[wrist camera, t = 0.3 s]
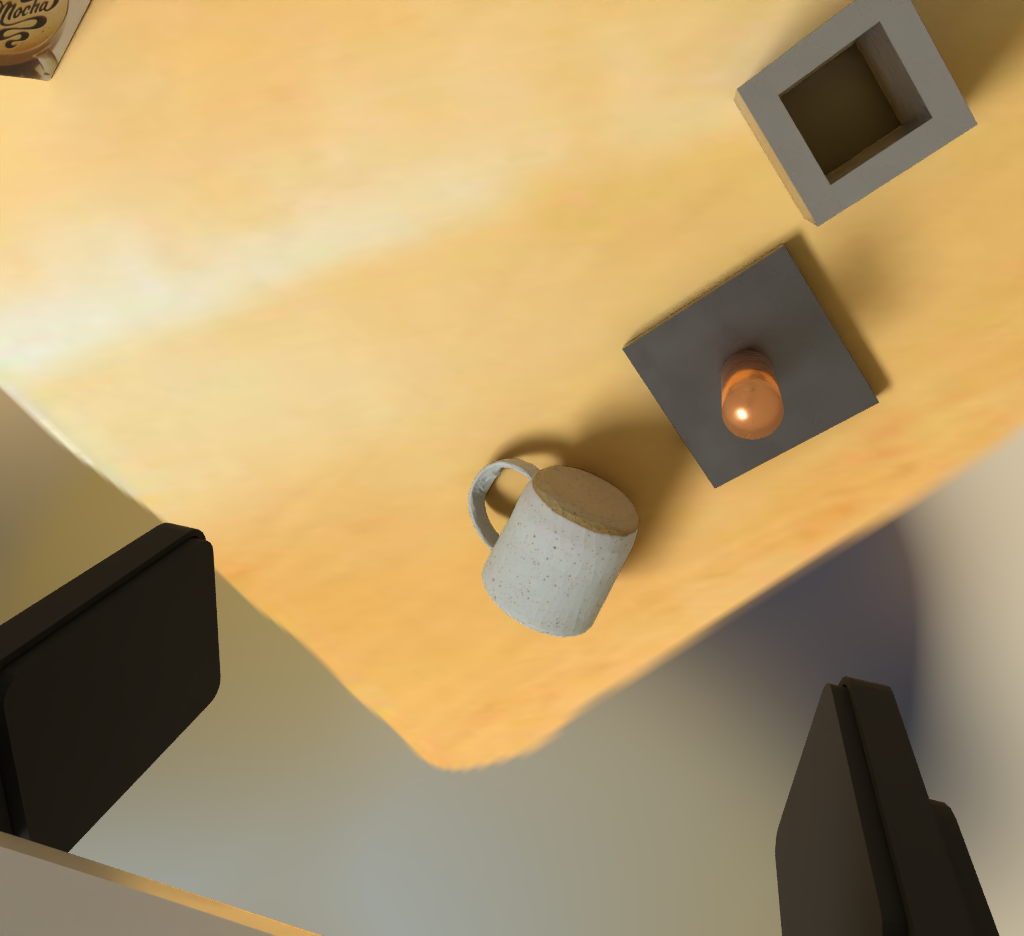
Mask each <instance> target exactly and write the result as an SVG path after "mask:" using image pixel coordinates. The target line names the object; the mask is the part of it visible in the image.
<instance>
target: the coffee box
mask: <svg viewBox="0 0 1024 936" xmlns="http://www.w3.org/2000/svg"><path fill="white" fill-rule="evenodd" d="M90 1H91V0H0V75H3V76H12V77H20V78H31V79H38V80H44V81H49V80H50V78H51V77H52V75H53V73H54V71H55V69H56V67H57V65H58V63H59V61H60V59H61V57H62V56H63V54H64V52H65V50H66V48H67V46H68V44H69V42H70V40H71V38H72V36H73V34H74V32H75V30H76V28H77V26H78V24H79V22H80V21H81V19H82V17H83V15H84V13H85V11H86V9H87V7H88V5H89V3H90Z"/></svg>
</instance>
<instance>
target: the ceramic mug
mask: <svg viewBox="0 0 1024 936" xmlns="http://www.w3.org/2000/svg"><path fill="white" fill-rule="evenodd" d="M503 467H504V468H512V469H514V470H516V471H518V472H520V473H522V474H523V475H524V476H526V477H528V478H529V480H530V482H529V483H528V484H527V486H526V487H525V489H524V491H523V492H522V494H521V496H520V498H519V500H518V502H517V504H516V506H515V508H514V510H513V512H512V515H511V517H510V519H509V520H508V522H507V524H506V526H505V527H504V529H503V531H502V533H501V535H500V536H499V534H498V533H497V532H496V531H495V529H494V528H493V526H492V525H491V523H490V521H489V519H488V516H487V513H486V508H485V495H486V493H487V491H488V490H489V488H490V486H491V485H492V483H493V481H494V480H495V478H496V477H498V476H500V473H501V470H502V468H503ZM468 508H469V513H470V517H471V520H472V522H473V525H474V527H475V529H476V531H477V533H478V534H479V536H480V537H481V539H482V540H483V541H484V543H485V544H486V545H487V546H488V547H489V548H490V549H491V550H492V552H491V553H490V555H489V557H488V559H487V561H486V563H485V565H484V568H483V572H482V579H483V583H484V587H485V589H486V591H487V593H488V594H489V596H490V597H491V598H492V600H493V601H494V602H495V603H496V604H497V605H498V606H499V607H500V608H501V609H502V610H503V611H504V612H505V613H506V614H507V615H509V616H510V617H512V618H513V619H515V620H516V621H517V622H519V623H521V624H523V625H524V626H527V627H528V628H530V629H533V630H536V631H538V632H541V633H544V634H548V635H552V636H557V637H572V636H577V635H580V634H583V633H585V632H586V631H587V630H588V629H589V628H590V627H591V626H592V625H593V623H594V621H595V619H596V617H597V615H598V613H599V611H600V609H601V607H602V605H603V603H604V602H605V600H606V598H607V596H608V594H609V592H610V590H611V588H612V586H613V584H614V582H615V580H616V578H617V576H618V574H619V572H620V570H621V568H622V566H623V564H624V562H625V561H626V559H627V557H628V555H629V553H630V551H631V549H632V547H633V544H634V541H635V538H636V535H637V532H638V528H639V517H638V513H637V511H636V509H635V507H634V505H633V504H632V502H631V501H630V500H629V499H628V498H627V497H626V496H625V495H624V493H622V492H621V491H620V490H619V489H617V488H616V487H615V486H613V485H611V484H610V483H608V482H606V481H605V480H603V479H601V478H599V477H597V476H595V475H593V474H591V473H588V472H585V471H583V470H580V469H577V468H572V467H567V466H553V467H548V468H545V469H542V470H539V469H538V468H537V467H536V466H534V465H533V464H531V463H528V462H525V461H523V460H520V459H503V460H499V461H495V462H492V463H490V464H489V465H487V466H485V467H484V468H483V469H482V470H481V471H480V472H479V473H478V474H477V476H476V478H475V479H474V481H473V483H472V486H471V488H470V491H469V496H468Z"/></svg>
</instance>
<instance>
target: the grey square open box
mask: <svg viewBox="0 0 1024 936" xmlns="http://www.w3.org/2000/svg"><path fill="white" fill-rule="evenodd" d="M854 43H856V45H857V47H858V48H859V50H860V52H861V54H862V56H863V57H864V59H865V61H866V63H867V65H868V66H869V68H870V70H871V72H872V73H873V75H874V77H875V79H876V81H877V82H878V84H879V86H880V88H881V90H882V91H883V93H884V95H885V97H886V99H887V100H888V102H889V104H890V106H891V108H892V109H893V111H894V113H895V115H896V117H897V118H898V120H899V122H900V124H901V125H900V126H899V127H897V128H896V129H894V130H893V131H891V132H890V133H888V134H887V135H885V136H884V137H882V138H881V139H879V140H878V141H876V142H875V143H873V144H872V145H870V146H869V147H867V148H866V149H864V150H863V151H861V152H860V153H858V154H857V155H855V156H854V157H852V158H851V159H849V160H848V161H846V162H845V163H843V164H842V165H840V166H839V167H837V168H836V169H834V170H833V171H831V172H830V173H828V174H827V175H824V173H823V172H822V170H821V168H820V166H819V165H818V163H817V161H816V160H815V158H814V156H813V154H812V153H811V151H810V149H809V148H808V146H807V144H806V142H805V141H804V139H803V137H802V136H801V134H800V132H799V130H798V129H797V127H796V125H795V124H794V122H793V120H792V118H791V117H790V115H789V113H788V112H787V110H786V108H785V106H784V105H783V103H782V101H781V100H780V97H782V96H783V95H784V94H786V93H787V92H788V91H790V90H791V89H793V88H794V87H795V86H797V85H798V84H799V83H801V82H802V81H804V80H805V79H806V78H808V77H809V76H810V75H812V74H813V73H815V72H816V71H817V70H819V69H820V68H821V67H823V66H824V65H826V64H827V63H828V62H830V61H831V60H832V59H834V58H835V57H837V56H838V55H839V54H841V53H842V52H843V51H845V50H846V49H848V48H849V47H850V46H852V45H853V44H854ZM734 101H735V103H736V104H737V106H738V108H739V110H740V111H741V113H742V115H743V116H744V118H745V120H746V121H747V123H748V125H749V126H750V128H751V130H752V131H753V133H754V135H755V136H756V138H757V140H758V141H759V143H760V145H761V146H762V148H763V150H764V152H765V153H766V155H767V157H768V158H769V160H770V162H771V163H772V165H773V167H774V168H775V170H776V172H777V173H778V175H779V177H780V178H781V180H782V182H783V183H784V185H785V187H786V189H787V190H788V192H789V194H790V195H791V197H792V199H793V200H794V202H795V204H796V205H797V207H798V209H799V210H800V212H801V214H802V215H803V217H804V218H805V219H806V220H808V221H810V222H811V223H813V224H815V225H817V226H820V225H821V224H823V223H824V222H826V221H827V220H829V219H831V218H832V217H834V216H835V215H837V214H838V213H840V212H841V211H843V210H845V209H846V208H848V207H849V206H851V205H852V204H854V203H856V202H857V201H859V200H860V199H862V198H863V197H865V196H866V195H868V194H870V193H871V192H873V191H874V190H876V189H877V188H879V187H881V186H882V185H884V184H885V183H887V182H888V181H890V180H891V179H893V178H895V177H896V176H898V175H899V174H901V173H902V172H904V171H906V170H907V169H909V168H910V167H912V166H913V165H915V164H916V163H918V162H920V161H921V160H923V159H924V158H926V157H927V156H929V155H931V154H932V153H934V152H935V151H937V150H938V149H940V148H941V147H943V146H945V145H946V144H948V143H949V142H951V141H952V140H954V139H956V138H957V137H959V136H960V135H962V134H963V133H965V132H966V131H968V130H970V129H971V128H973V127H974V126H976V125H977V122H976V121H975V119H974V117H973V115H972V113H971V111H970V109H969V108H968V106H967V104H966V102H965V100H964V98H963V96H962V95H961V93H960V91H959V89H958V87H957V85H956V83H955V82H954V80H953V78H952V76H951V74H950V72H949V70H948V69H947V67H946V65H945V63H944V61H943V59H942V57H941V56H940V54H939V52H938V50H937V48H936V46H935V44H934V43H933V41H932V39H931V37H930V35H929V33H928V31H927V30H926V28H925V26H924V24H923V22H922V20H921V18H920V17H919V15H918V13H917V11H916V9H915V7H914V5H913V4H912V2H911V0H855V1H854V2H852V3H851V4H850V5H848V6H847V7H846V8H844V9H843V10H842V11H840V12H839V13H838V14H836V15H835V16H834V17H832V18H831V19H830V20H828V21H827V22H826V23H824V24H823V25H822V26H820V27H819V28H818V29H816V30H815V31H814V32H812V33H811V34H810V35H808V36H807V37H806V38H804V39H803V40H802V41H800V42H799V43H798V44H796V45H795V46H794V47H792V48H791V49H790V50H788V51H787V52H786V53H784V54H783V55H782V56H780V57H779V58H778V59H776V60H775V61H774V62H772V63H771V64H770V65H768V66H767V67H766V68H764V69H763V70H762V71H760V72H759V73H758V74H756V75H755V76H754V77H752V78H751V79H750V80H748V81H747V82H746V83H744V84H743V85H742V86H740V87H739V88H738V89H737V90H736V94H735V98H734Z"/></svg>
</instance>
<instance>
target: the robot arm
mask: <svg viewBox="0 0 1024 936" xmlns="http://www.w3.org/2000/svg"><path fill="white" fill-rule="evenodd" d="M216 609H217V608H216V591H215V573H214V555H213V547H212V545H211V543H210V542H208V541H206V538H205V536H204V534H203V532H201V531H200V530H198V529H194V528H189V527H185V526H180V525H176V524H172V523H163V524H160V525H158V526H156V527H155V528H153V529H152V530H150V531H149V532H147V533H145V534H144V535H143V536H141V537H139V538H138V539H136V540H134V541H133V542H131V543H130V544H128V545H126V546H125V547H123V548H122V549H120V550H119V551H117V552H116V553H114V554H112V555H111V556H109V557H108V558H106V559H104V560H103V561H101V562H100V563H98V564H97V565H95V566H93V567H92V568H90V569H89V570H87V571H85V572H84V573H82V574H81V575H79V576H78V577H76V578H75V579H73V580H71V581H70V582H68V583H67V584H65V585H63V586H62V587H60V588H59V589H57V590H55V591H54V592H52V593H51V594H49V595H48V596H46V597H44V598H43V599H42V600H40V601H38V602H37V603H35V604H33V605H32V606H30V607H29V608H27V609H25V610H24V611H23V612H21V613H19V614H18V615H16V616H14V617H13V618H11V619H10V620H8V621H7V622H5V623H3V624H2V625H0V936H322V935H319V934H316V933H313V932H310V931H307V930H304V929H301V928H298V927H295V926H292V925H289V924H285V923H282V922H279V921H276V920H273V919H270V918H267V917H264V916H261V915H258V914H255V913H252V912H249V911H246V910H243V909H239V908H237V907H234V906H230V905H227V904H224V903H221V902H218V901H215V900H212V899H209V898H206V897H203V896H200V895H197V894H194V893H191V892H187V891H185V890H182V889H178V888H176V887H172V886H169V885H166V884H163V883H160V882H157V881H154V880H150V879H148V878H144V877H141V876H138V875H135V874H132V873H129V872H125V871H123V870H120V869H116V868H113V867H110V866H107V865H104V864H101V863H98V862H95V861H91V860H88V859H85V858H82V857H79V856H76V855H73V854H70V853H68V852H69V851H70V850H71V849H72V848H73V847H74V845H75V844H76V843H77V842H78V841H79V840H80V839H81V838H82V837H83V836H84V835H85V834H86V833H87V832H88V831H89V830H90V829H91V828H92V827H93V826H94V825H95V823H96V822H97V821H98V820H99V819H100V818H101V817H102V816H103V815H104V814H105V813H106V812H107V811H108V810H109V809H110V808H111V807H112V806H113V805H114V803H116V801H117V800H118V799H119V798H120V797H121V796H122V795H123V794H124V793H125V792H126V791H127V790H128V789H129V788H130V787H131V786H132V785H133V783H134V782H135V781H136V780H137V779H138V778H139V777H140V776H141V775H142V774H143V773H144V772H145V771H146V770H147V769H148V768H149V767H150V766H151V765H152V764H153V763H154V761H156V759H157V758H158V757H159V756H160V755H161V754H162V753H163V752H164V751H165V750H166V749H167V748H168V747H169V746H170V745H171V744H172V743H173V742H174V741H175V740H176V738H177V737H178V736H179V735H180V734H181V733H182V732H183V731H184V730H185V729H186V728H187V727H188V726H189V725H190V724H191V723H192V722H193V721H194V720H195V718H196V717H197V716H198V715H199V714H200V713H201V712H202V711H203V710H204V709H205V708H206V707H207V706H208V705H209V704H210V703H211V701H212V700H213V699H214V697H215V695H216V694H217V691H218V689H219V685H220V661H219V643H218V627H217V626H218V625H217V610H216ZM775 857H776V869H777V880H778V892H779V903H780V916H781V927H782V936H999V933H998V931H997V928H996V925H995V923H994V920H993V917H992V914H991V912H990V909H989V906H988V904H987V901H986V898H985V896H984V893H983V890H982V888H981V885H980V882H979V880H978V877H977V874H976V871H975V869H974V866H973V863H972V861H971V858H970V856H969V853H968V850H967V847H966V844H965V842H964V839H963V836H962V834H961V831H960V828H959V825H958V823H957V820H956V818H955V816H954V814H953V812H952V810H951V808H950V807H948V806H947V805H946V804H945V803H943V802H939V801H935V800H931V799H929V797H928V794H927V791H926V789H925V785H924V783H923V780H922V777H921V774H920V771H919V768H918V765H917V762H916V759H915V756H914V753H913V750H912V747H911V744H910V741H909V739H908V735H907V732H906V730H905V727H904V724H903V721H902V718H901V715H900V712H899V709H898V706H897V703H896V700H895V697H894V694H893V692H892V690H891V688H890V687H889V686H886V685H881V684H877V683H873V682H868V681H864V680H860V679H855V678H851V677H847V676H845V677H843V678H842V680H841V681H840V683H839V685H833V684H829V683H828V684H826V685H825V687H824V689H823V691H822V694H821V697H820V700H819V703H818V706H817V709H816V712H815V716H814V718H813V722H812V725H811V728H810V731H809V734H808V737H807V740H806V744H805V746H804V749H803V753H802V756H801V759H800V762H799V765H798V768H797V771H796V774H795V777H794V780H793V784H792V787H791V790H790V793H789V796H788V799H787V802H786V805H785V808H784V811H783V814H782V818H781V821H780V824H779V827H778V831H777V837H776V846H775Z"/></svg>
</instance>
